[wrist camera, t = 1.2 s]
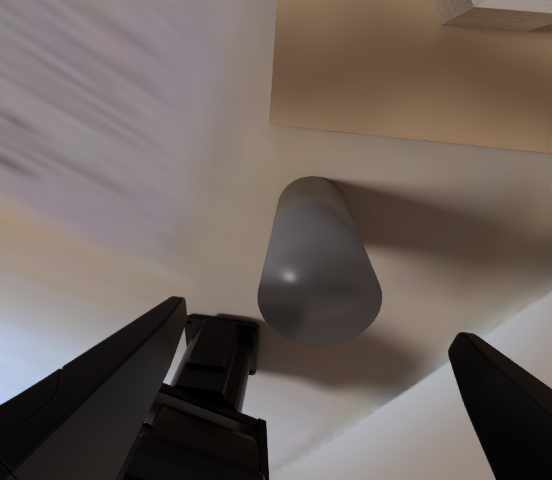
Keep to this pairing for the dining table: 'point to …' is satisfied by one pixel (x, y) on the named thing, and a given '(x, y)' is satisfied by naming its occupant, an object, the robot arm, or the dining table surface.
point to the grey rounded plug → (317, 268)
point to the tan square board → (410, 75)
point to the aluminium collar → (495, 13)
